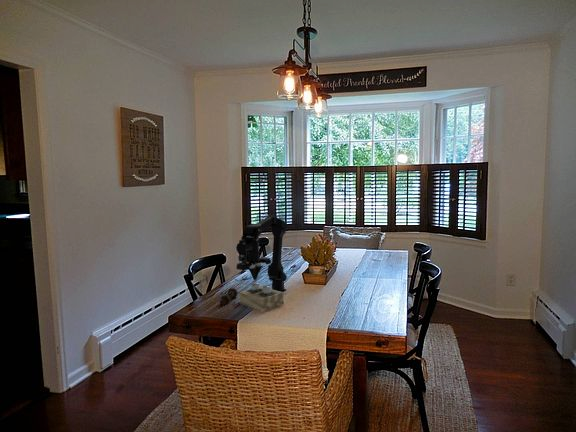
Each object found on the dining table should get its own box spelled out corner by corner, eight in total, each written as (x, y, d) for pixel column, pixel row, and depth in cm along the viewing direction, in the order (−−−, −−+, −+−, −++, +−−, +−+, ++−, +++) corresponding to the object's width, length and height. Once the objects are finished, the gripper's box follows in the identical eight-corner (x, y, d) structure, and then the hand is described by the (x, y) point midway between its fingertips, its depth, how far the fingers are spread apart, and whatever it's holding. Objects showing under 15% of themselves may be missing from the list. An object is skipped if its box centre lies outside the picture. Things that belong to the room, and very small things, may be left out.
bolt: (221, 309, 213) (232, 299, 228) (229, 305, 212) (239, 295, 226) (215, 299, 213) (226, 290, 228) (223, 295, 212) (234, 285, 226)
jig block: (260, 297, 225) (260, 285, 224) (283, 303, 212) (283, 291, 211) (239, 303, 215) (239, 291, 214) (262, 311, 202) (262, 298, 202)
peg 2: (267, 295, 213) (266, 284, 212) (272, 297, 210) (272, 286, 209) (261, 297, 210) (260, 286, 209) (266, 299, 207) (266, 287, 206)
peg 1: (256, 292, 219) (255, 281, 218) (261, 294, 216) (260, 283, 216) (250, 294, 216) (249, 283, 216) (255, 295, 213) (254, 284, 213)
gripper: (257, 245, 226) (258, 273, 228) (229, 251, 213) (230, 281, 215) (270, 247, 218) (272, 277, 220) (242, 254, 205) (244, 285, 207)
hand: (254, 279), depth 215 cm, fingers closed
